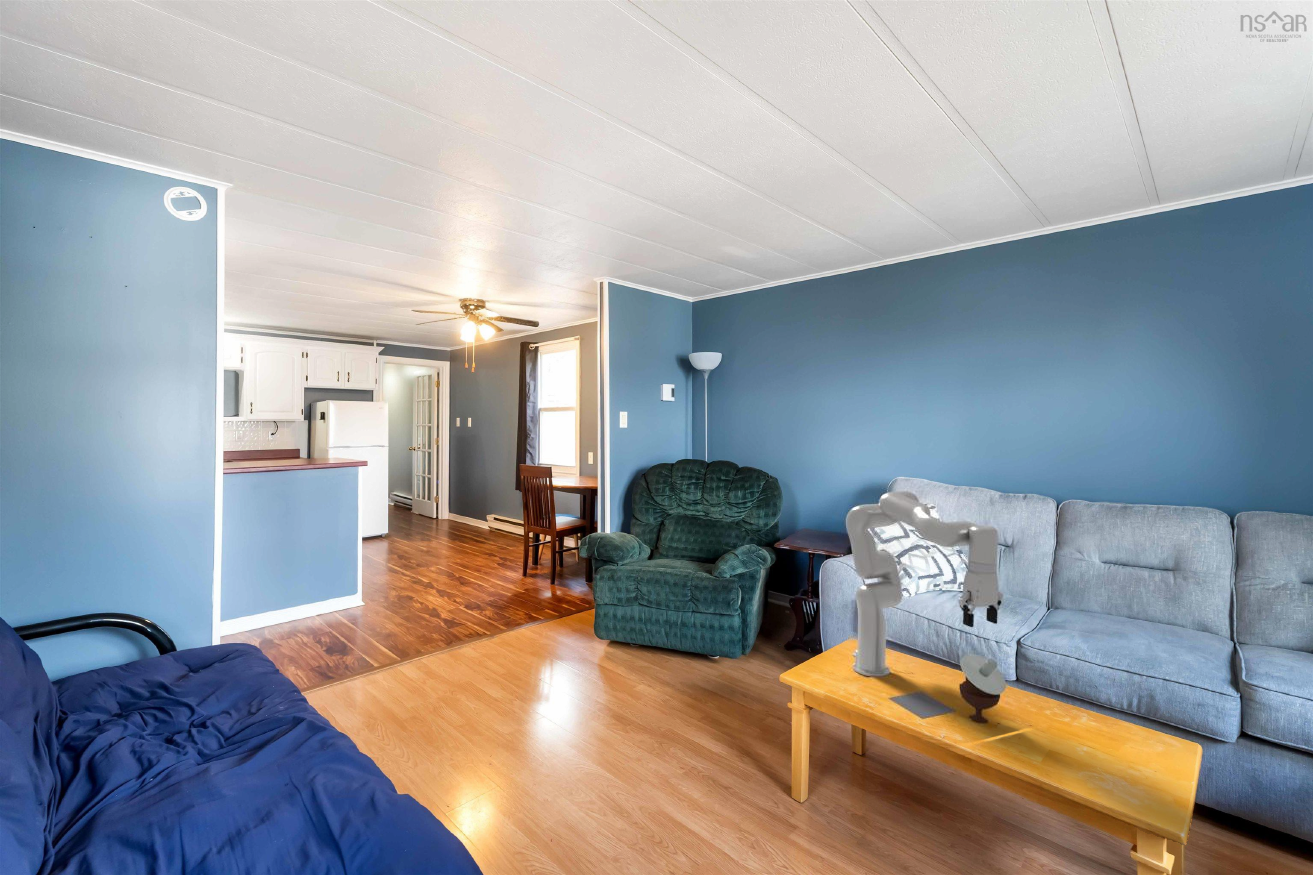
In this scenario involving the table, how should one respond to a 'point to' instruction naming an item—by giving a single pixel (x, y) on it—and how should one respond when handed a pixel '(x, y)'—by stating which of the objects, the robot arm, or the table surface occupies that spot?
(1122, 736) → the table surface
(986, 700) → the ice cream bowl
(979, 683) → the lid
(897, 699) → the mat
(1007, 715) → the table surface
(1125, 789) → the table surface
